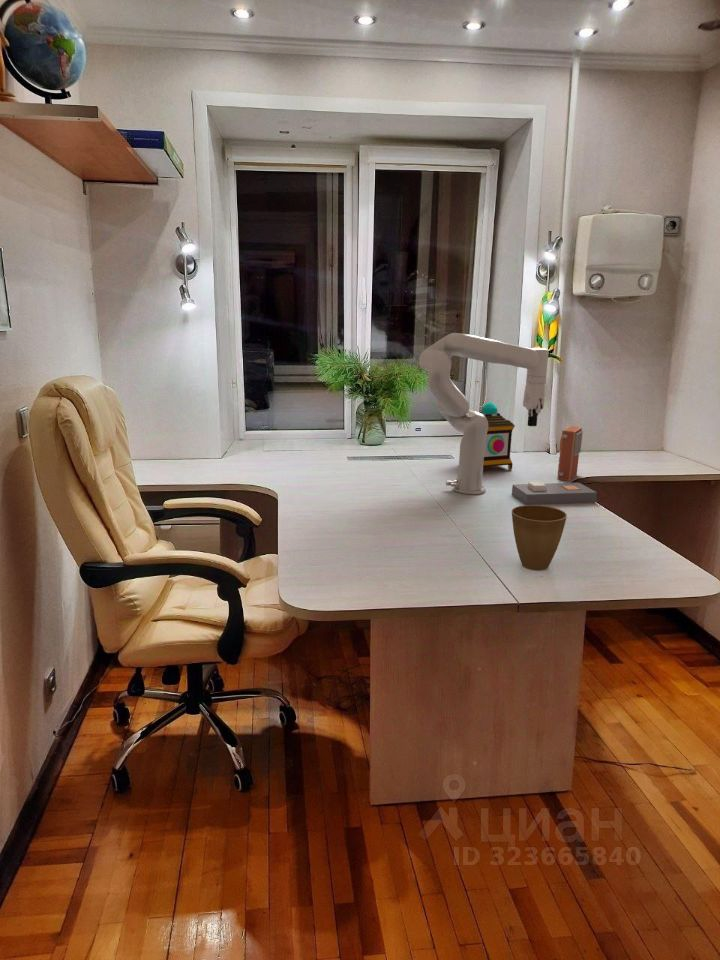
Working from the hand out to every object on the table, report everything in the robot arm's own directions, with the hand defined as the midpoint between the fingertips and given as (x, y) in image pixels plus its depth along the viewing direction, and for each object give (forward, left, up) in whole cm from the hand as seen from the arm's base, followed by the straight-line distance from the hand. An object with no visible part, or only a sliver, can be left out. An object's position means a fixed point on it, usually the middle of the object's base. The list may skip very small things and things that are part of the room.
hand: (532, 425), depth 263 cm
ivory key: (-4, -18, -22) cm, 29 cm away
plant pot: (-33, -81, -25) cm, 91 cm away
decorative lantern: (-6, +32, -25) cm, 41 cm away
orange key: (+10, -18, -24) cm, 32 cm away
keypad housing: (+3, -18, -25) cm, 31 cm away
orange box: (+24, +12, -25) cm, 37 cm away
